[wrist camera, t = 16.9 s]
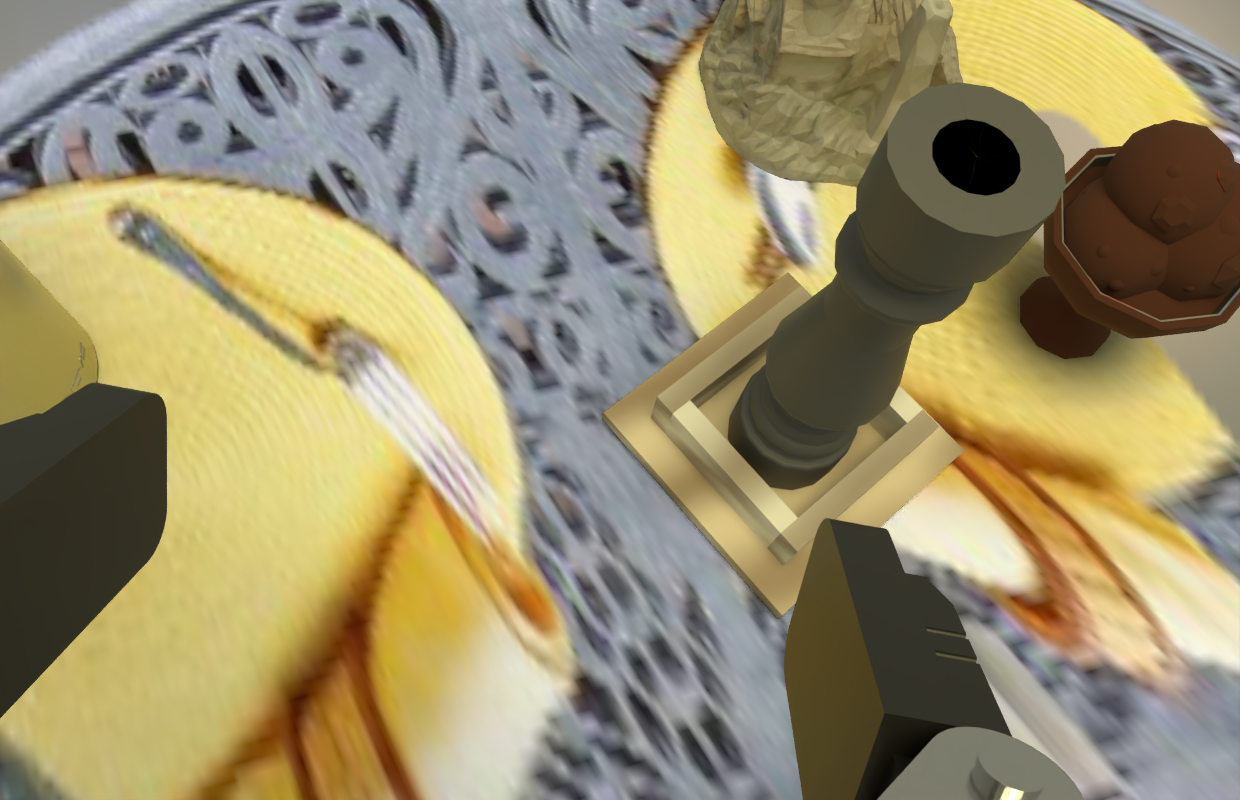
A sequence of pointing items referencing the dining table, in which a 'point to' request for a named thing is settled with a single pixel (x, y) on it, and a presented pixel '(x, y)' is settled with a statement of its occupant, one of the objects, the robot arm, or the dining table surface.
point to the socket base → (730, 488)
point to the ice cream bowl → (1140, 243)
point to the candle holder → (898, 272)
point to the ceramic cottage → (821, 78)
